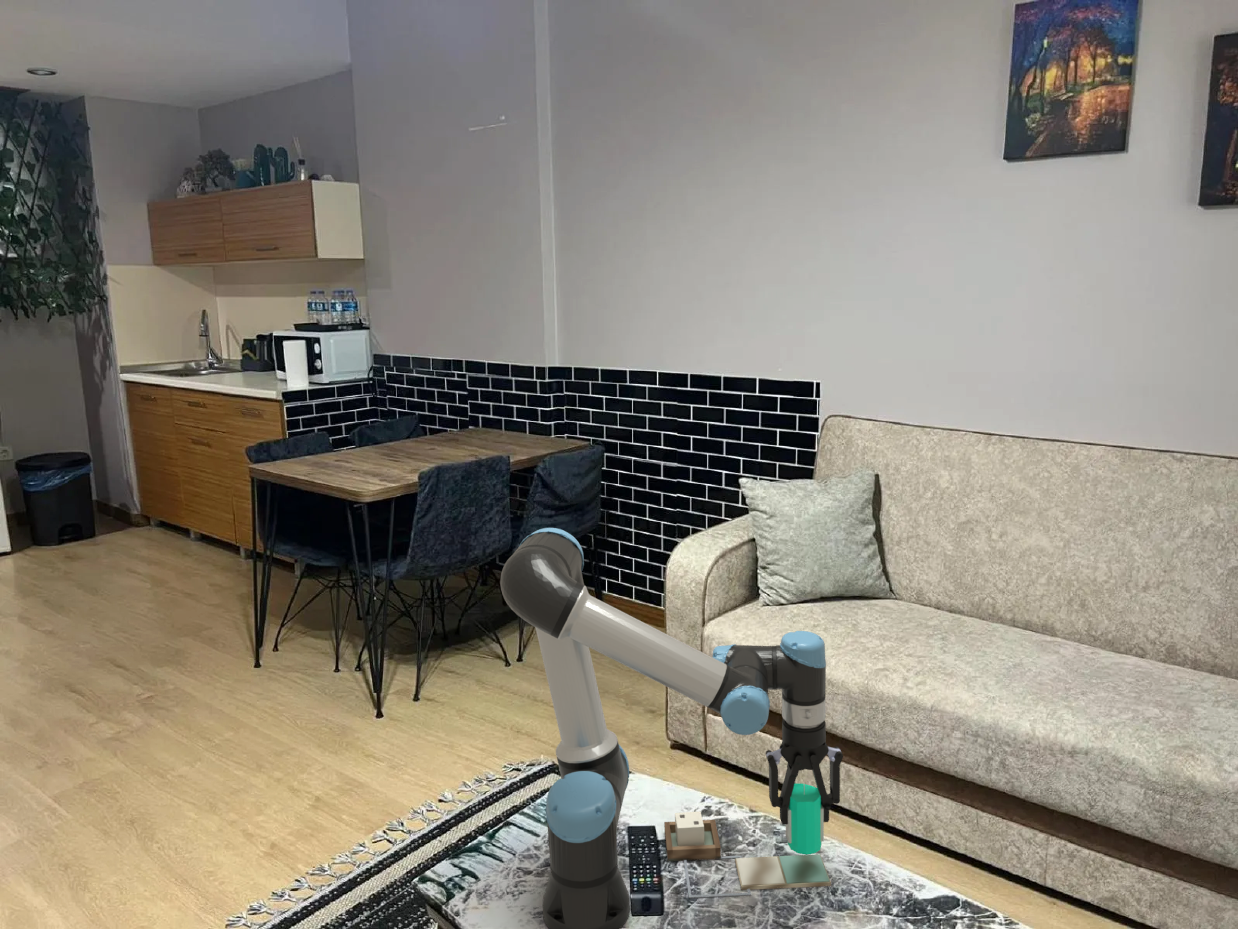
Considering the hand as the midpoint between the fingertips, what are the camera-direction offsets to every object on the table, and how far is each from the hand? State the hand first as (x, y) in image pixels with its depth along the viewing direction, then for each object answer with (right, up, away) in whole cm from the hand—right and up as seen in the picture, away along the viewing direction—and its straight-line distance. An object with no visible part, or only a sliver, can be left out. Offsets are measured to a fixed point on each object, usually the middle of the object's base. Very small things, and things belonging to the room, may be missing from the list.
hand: (804, 837), depth 166 cm
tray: (-19, -6, +11) cm, 23 cm away
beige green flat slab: (-4, -7, +1) cm, 8 cm away
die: (-20, -5, +11) cm, 23 cm away
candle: (0, -2, 0) cm, 2 cm away
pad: (-16, -8, +1) cm, 18 cm away
